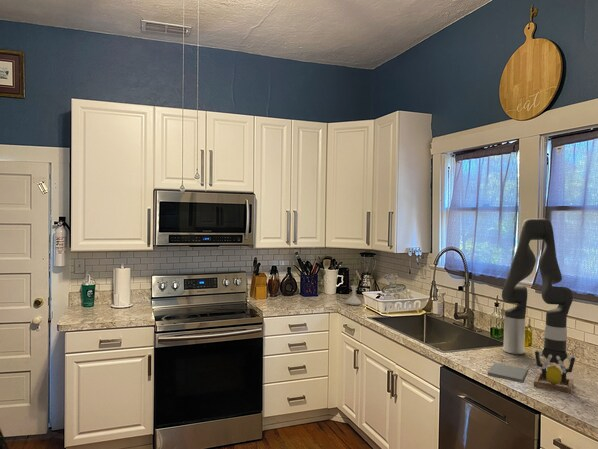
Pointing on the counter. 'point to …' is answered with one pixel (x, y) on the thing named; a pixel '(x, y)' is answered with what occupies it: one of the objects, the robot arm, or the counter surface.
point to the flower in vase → (353, 299)
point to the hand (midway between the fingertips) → (553, 379)
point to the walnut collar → (552, 386)
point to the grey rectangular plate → (508, 372)
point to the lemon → (553, 375)
